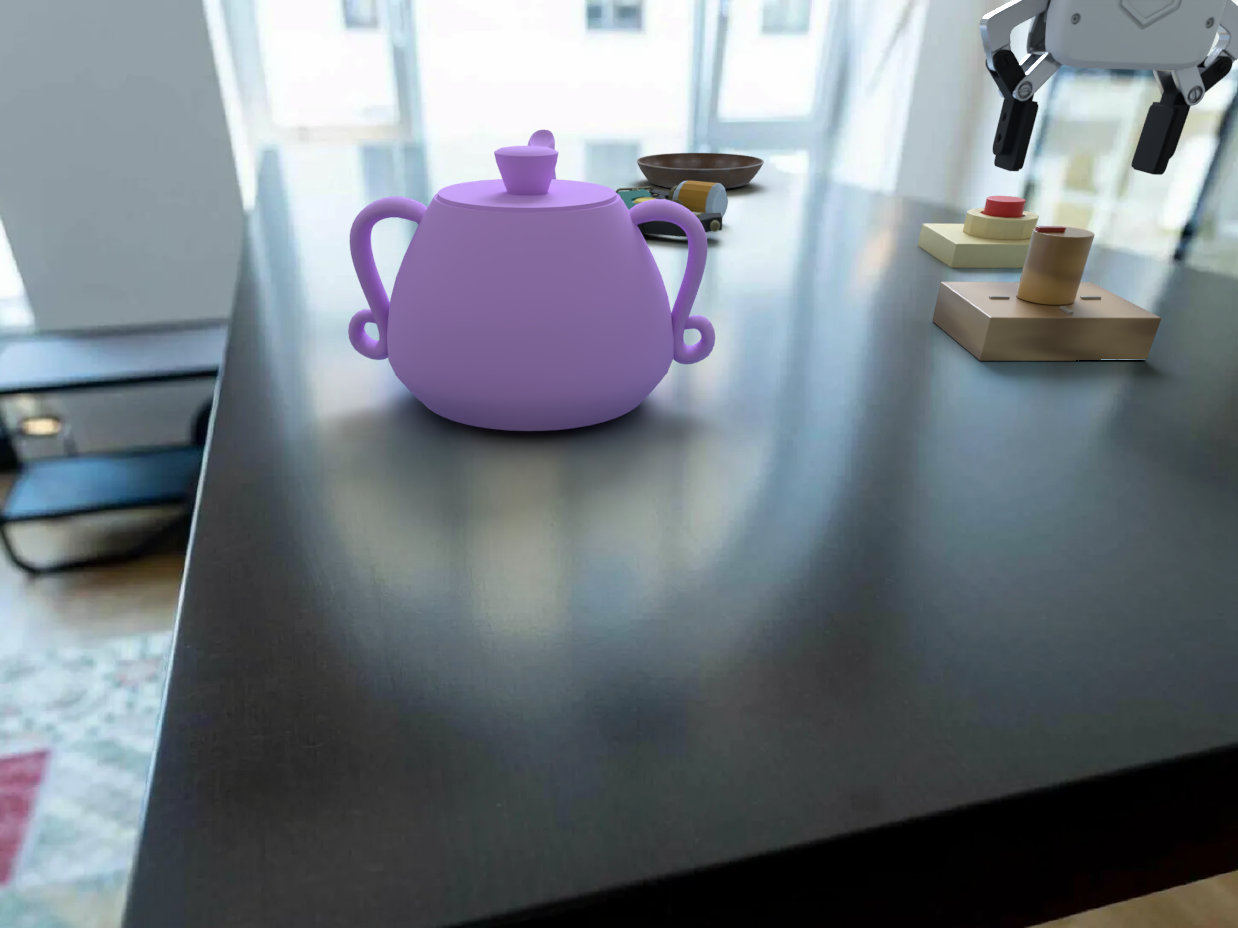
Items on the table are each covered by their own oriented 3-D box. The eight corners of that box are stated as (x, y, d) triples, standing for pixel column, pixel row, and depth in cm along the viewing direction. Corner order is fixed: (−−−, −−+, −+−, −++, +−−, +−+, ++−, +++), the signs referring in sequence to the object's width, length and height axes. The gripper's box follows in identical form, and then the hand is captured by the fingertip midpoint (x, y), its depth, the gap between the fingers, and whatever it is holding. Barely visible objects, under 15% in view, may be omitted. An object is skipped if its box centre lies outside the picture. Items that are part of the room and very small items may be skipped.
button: (1012, 214, 91) (1017, 195, 90) (1027, 221, 88) (1032, 202, 87) (976, 214, 90) (981, 195, 89) (990, 221, 87) (995, 201, 86)
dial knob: (1059, 290, 68) (1079, 221, 65) (1084, 305, 64) (1107, 232, 62) (1007, 290, 68) (1024, 221, 65) (1029, 305, 64) (1049, 232, 62)
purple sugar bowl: (691, 337, 67) (706, 124, 59) (725, 454, 49) (753, 172, 42) (395, 334, 67) (371, 120, 59) (323, 450, 49) (274, 167, 41)
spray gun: (714, 254, 94) (577, 249, 97) (742, 215, 106) (620, 212, 110) (716, 210, 91) (574, 206, 95) (744, 175, 103) (619, 173, 107)
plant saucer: (611, 184, 126) (611, 159, 124) (677, 170, 138) (678, 147, 136) (722, 198, 118) (724, 172, 116) (782, 182, 130) (785, 158, 128)
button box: (1029, 246, 95) (1040, 204, 93) (1073, 268, 87) (1087, 223, 85) (917, 245, 95) (925, 204, 93) (950, 268, 87) (961, 223, 84)
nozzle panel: (1080, 321, 72) (1092, 279, 70) (1146, 361, 64) (1163, 315, 62) (931, 321, 72) (940, 279, 70) (979, 361, 63) (991, 315, 62)
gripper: (1055, -184, 48) (972, 175, 58) (1369, -171, 49) (1234, 181, 58) (999, -161, 54) (932, 160, 64) (1278, -150, 55) (1170, 165, 65)
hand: (1077, 170), depth 61 cm, fingers open, 9 cm apart
